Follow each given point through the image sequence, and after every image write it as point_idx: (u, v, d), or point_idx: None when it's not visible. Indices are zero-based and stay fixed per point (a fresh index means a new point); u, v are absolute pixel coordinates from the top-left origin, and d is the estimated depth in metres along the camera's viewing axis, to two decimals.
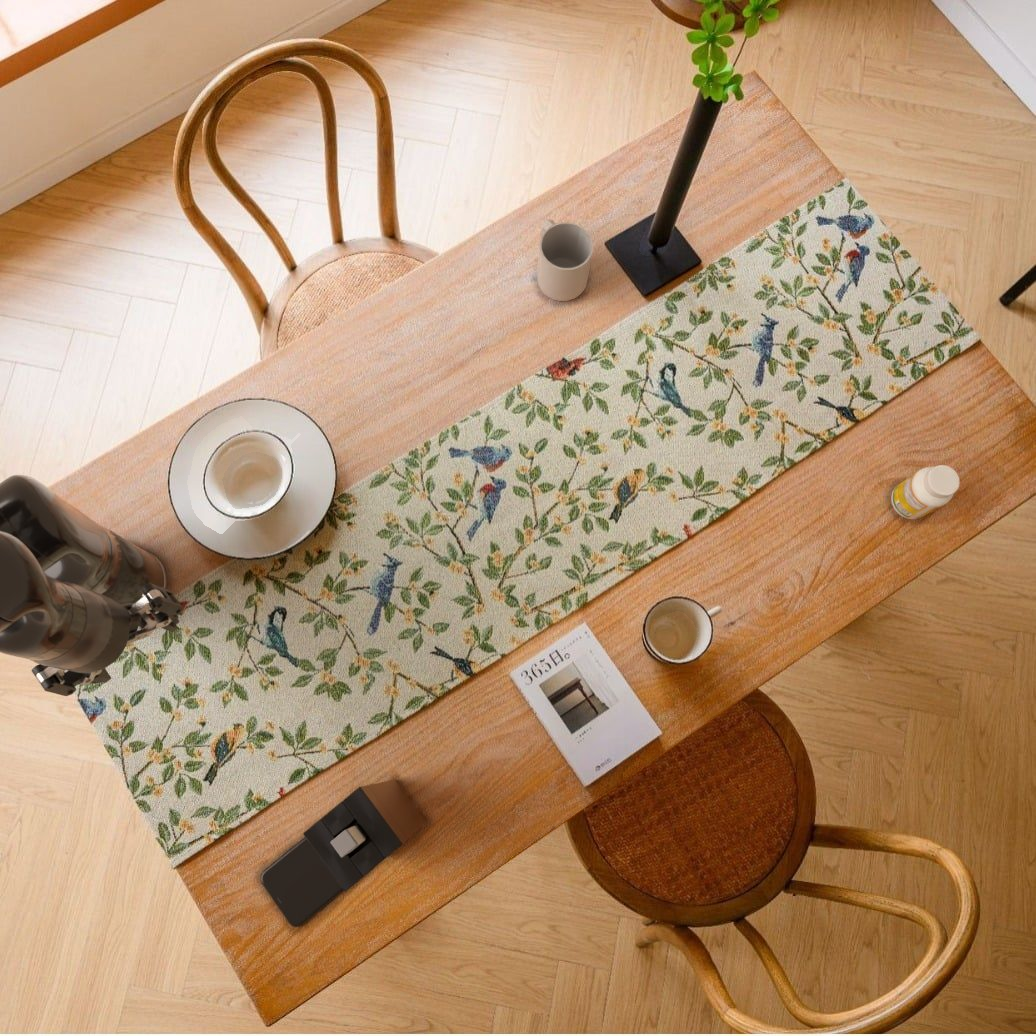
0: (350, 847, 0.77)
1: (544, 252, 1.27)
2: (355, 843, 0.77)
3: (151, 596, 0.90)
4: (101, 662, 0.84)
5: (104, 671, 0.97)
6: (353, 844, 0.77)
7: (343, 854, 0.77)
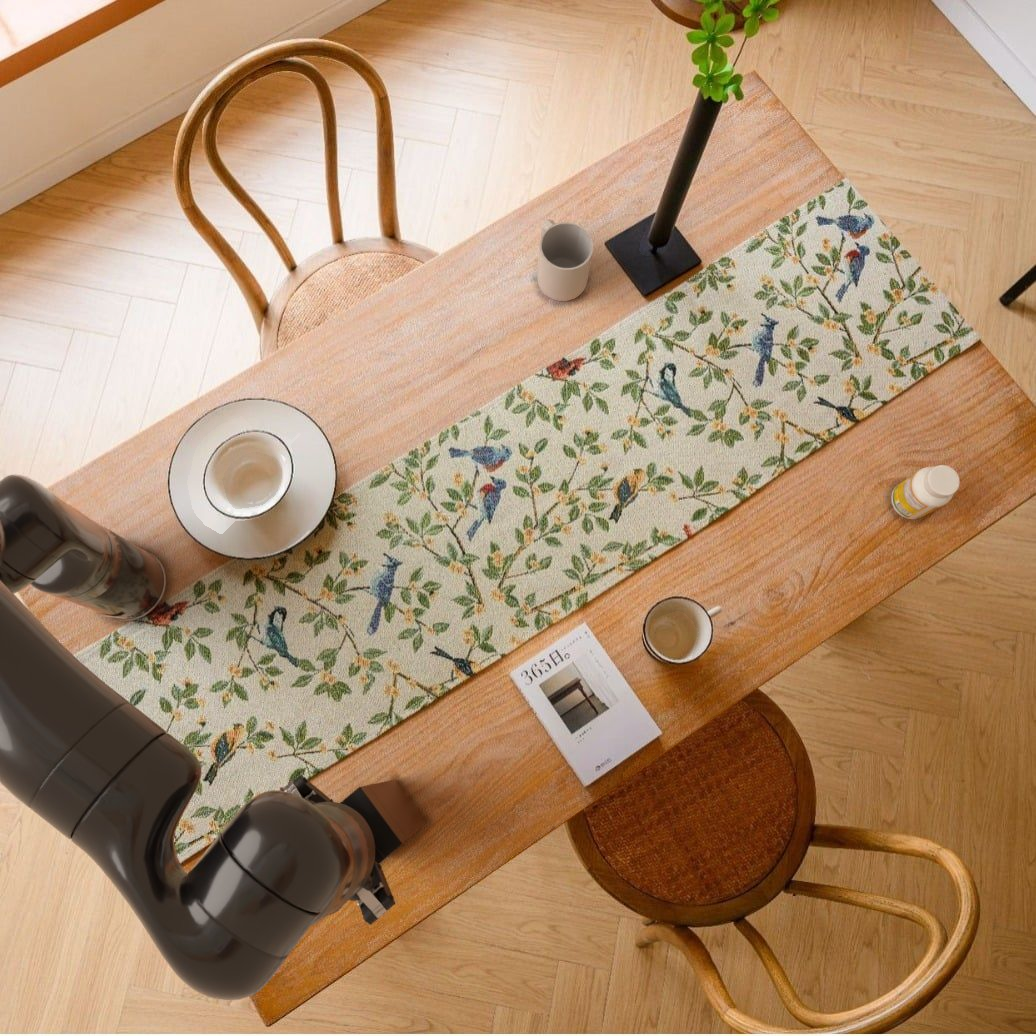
0: None
1: (544, 252, 1.27)
2: None
3: (379, 913, 0.72)
4: None
5: None
6: None
7: None
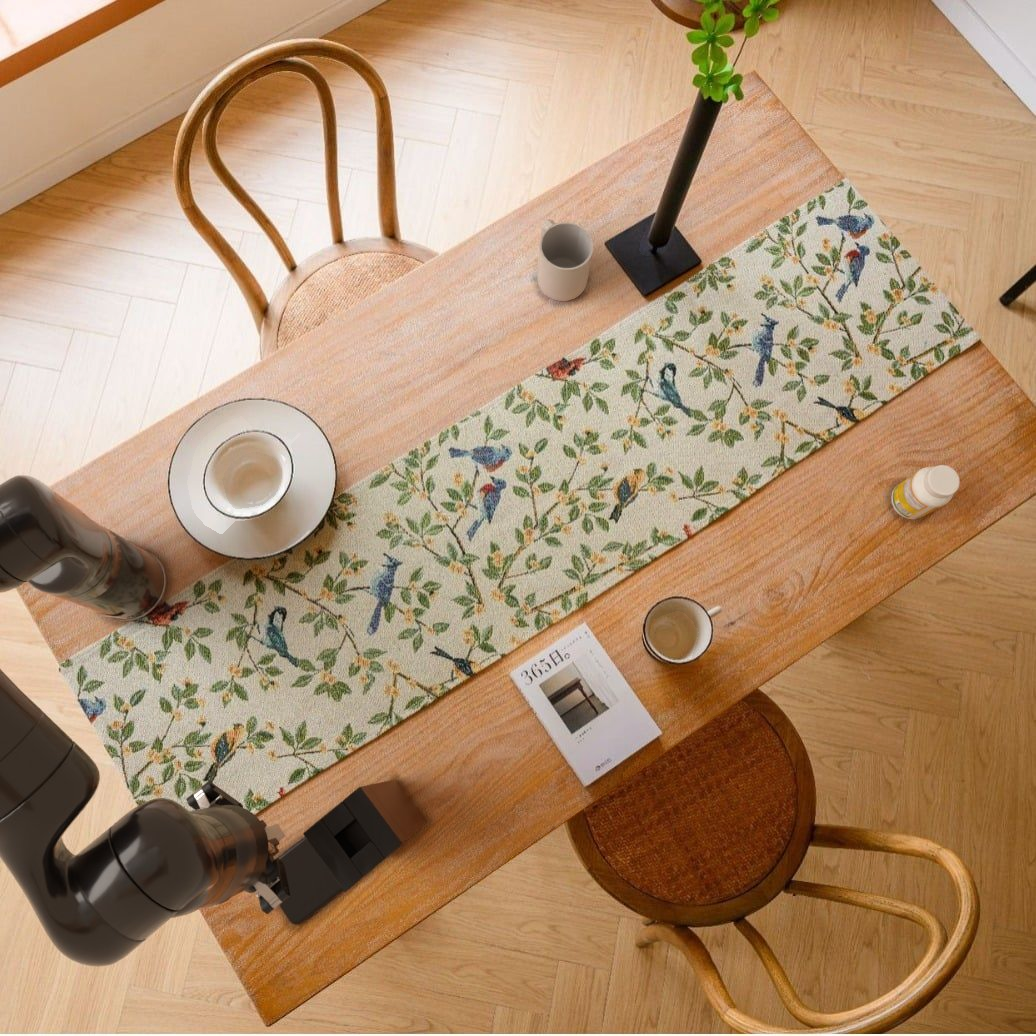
0: None
1: (544, 252, 1.27)
2: None
3: (275, 903, 0.81)
4: None
5: None
6: None
7: None
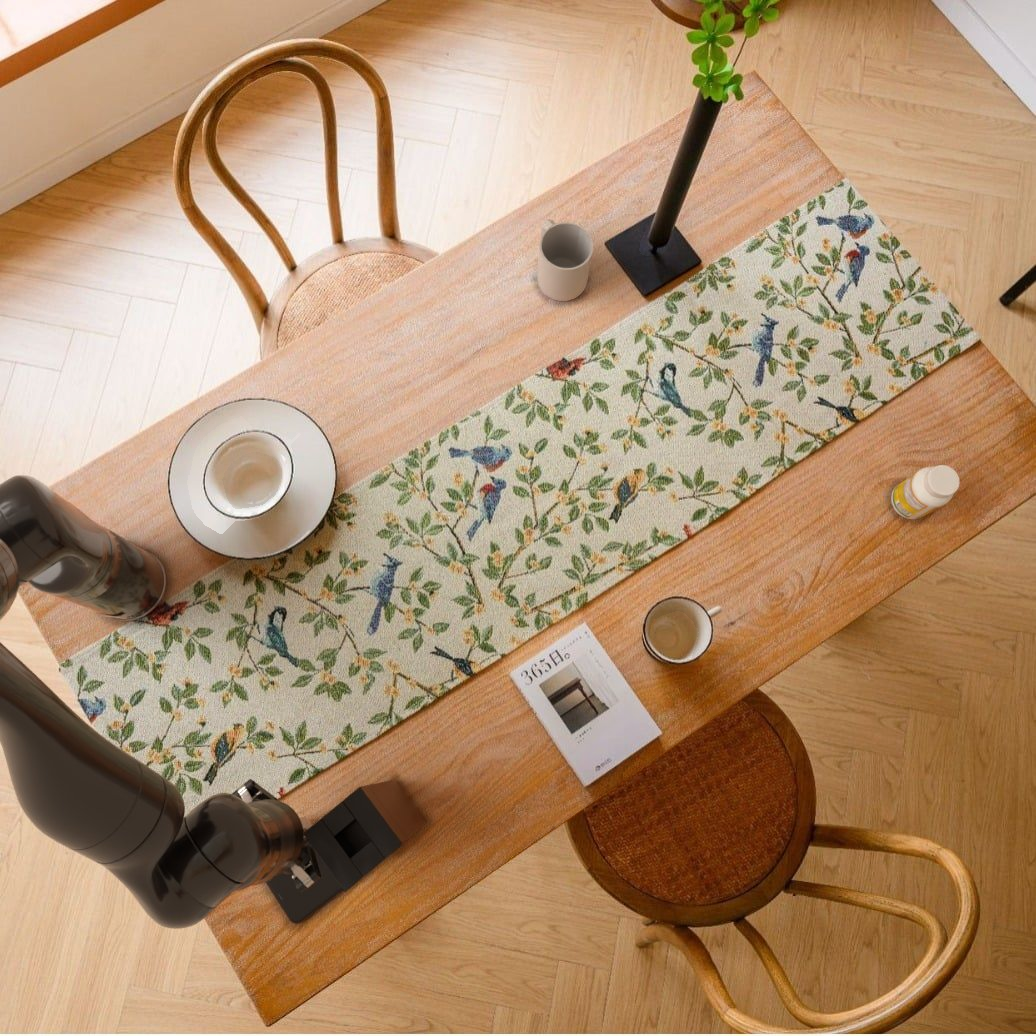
0: None
1: (544, 252, 1.27)
2: None
3: (308, 883, 0.95)
4: None
5: None
6: None
7: None
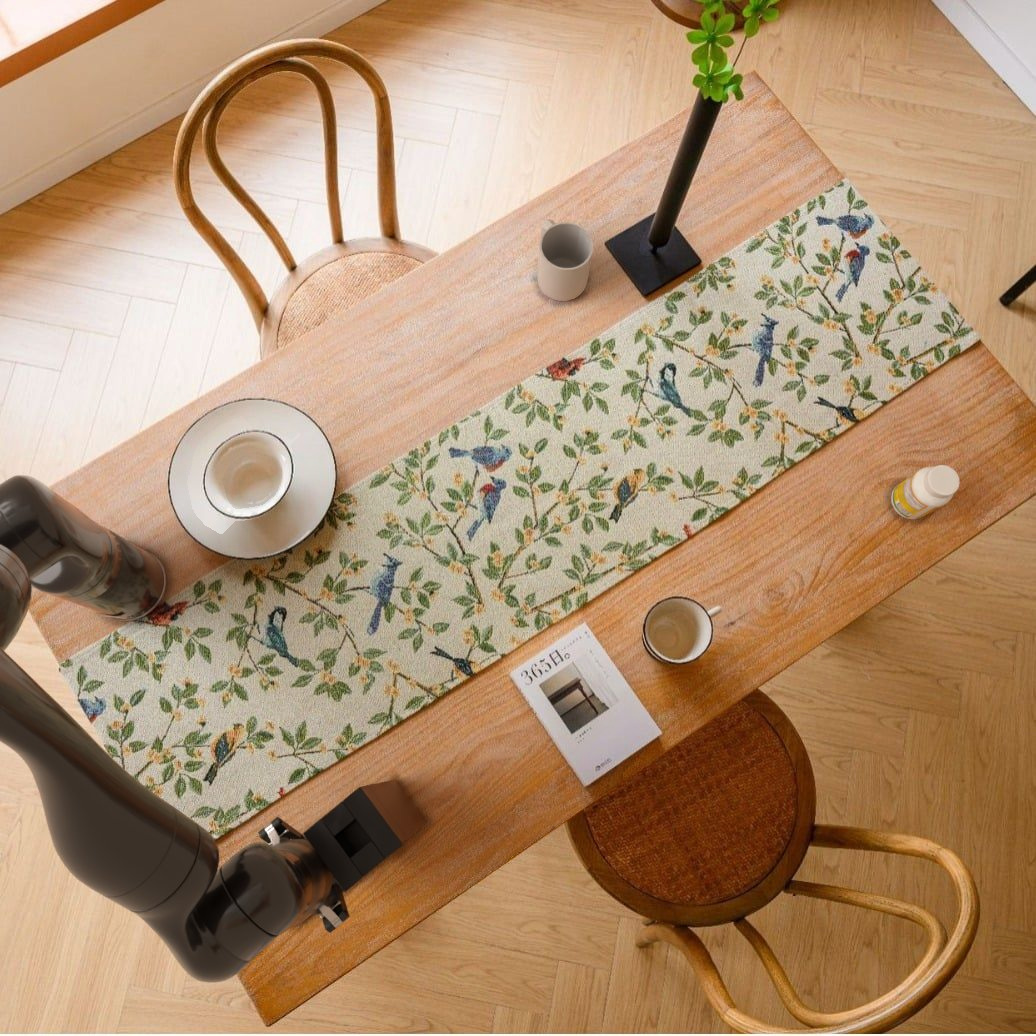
0: None
1: (544, 252, 1.27)
2: None
3: (336, 924, 0.94)
4: None
5: None
6: None
7: None
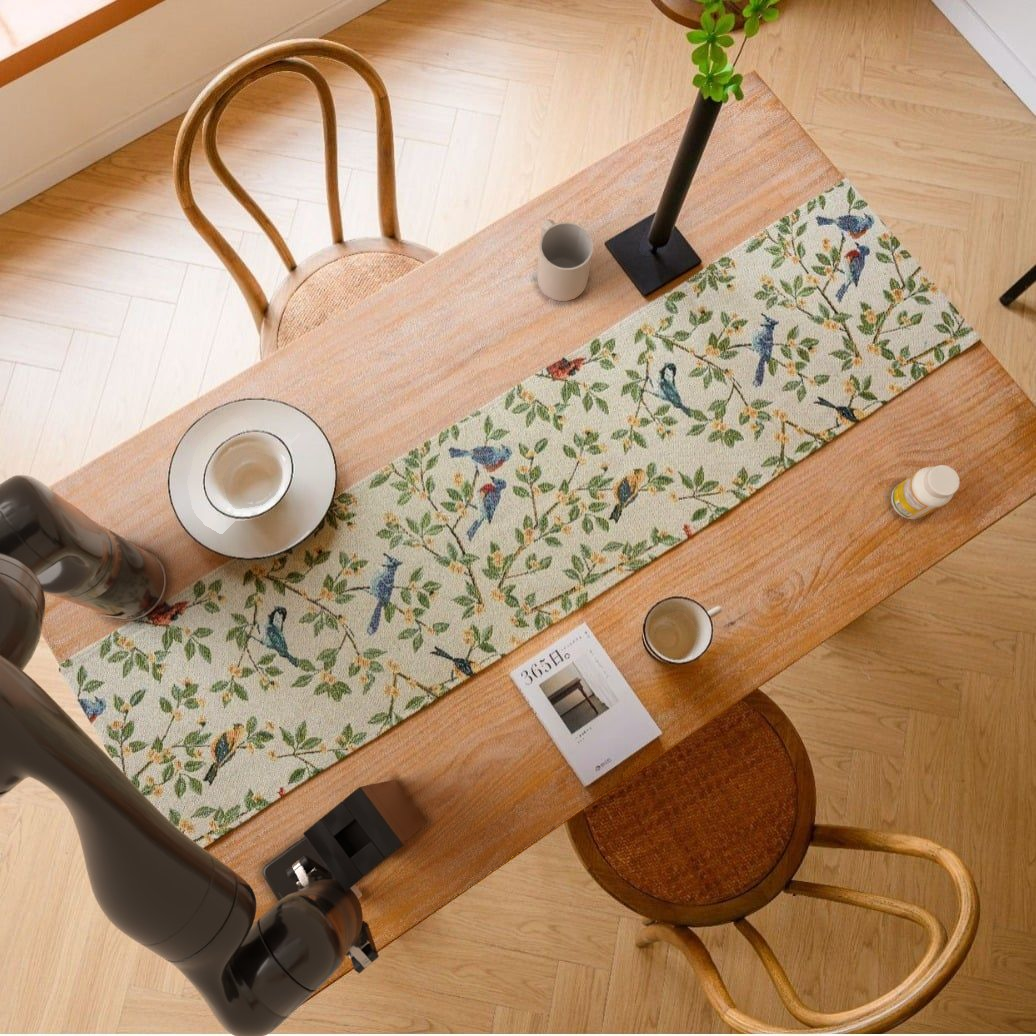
0: None
1: (544, 252, 1.27)
2: None
3: (366, 964, 0.93)
4: None
5: None
6: None
7: None
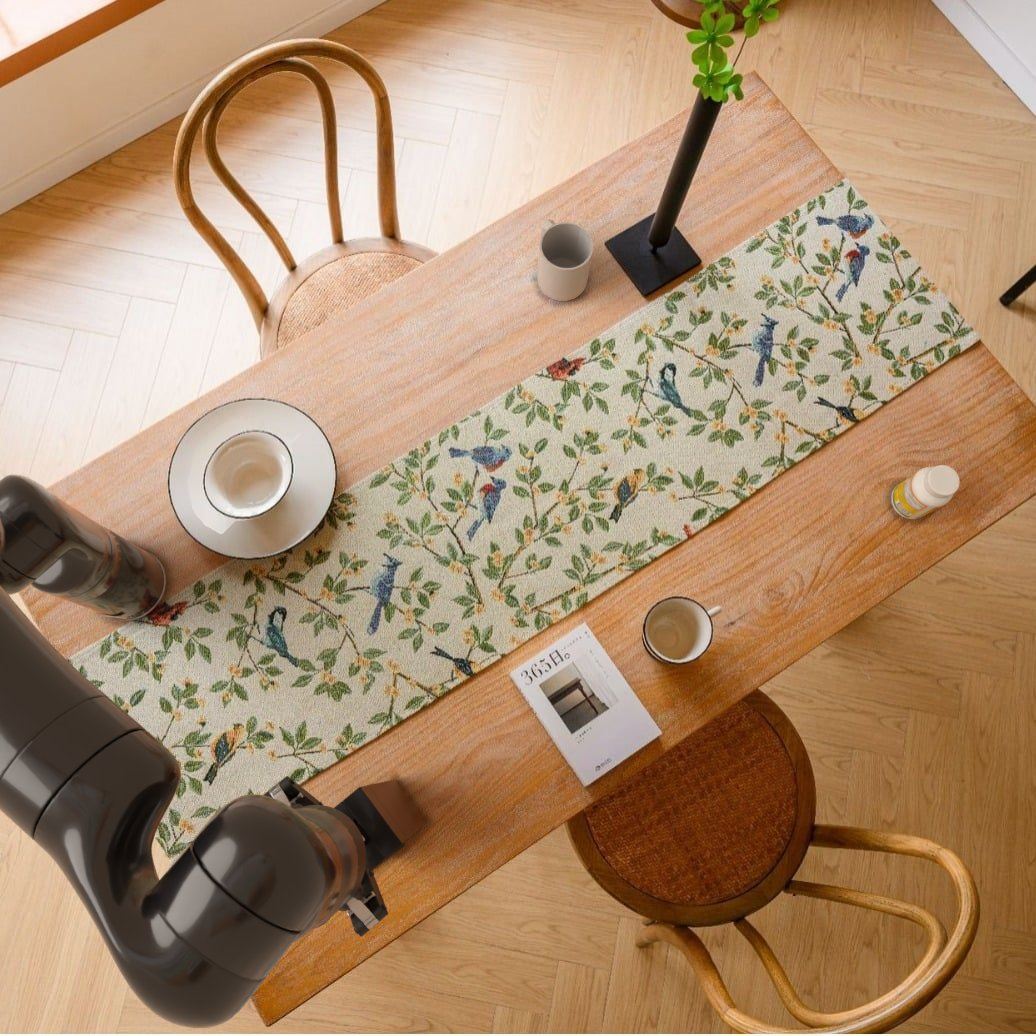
0: None
1: (544, 252, 1.27)
2: None
3: (370, 924, 0.67)
4: None
5: None
6: None
7: None
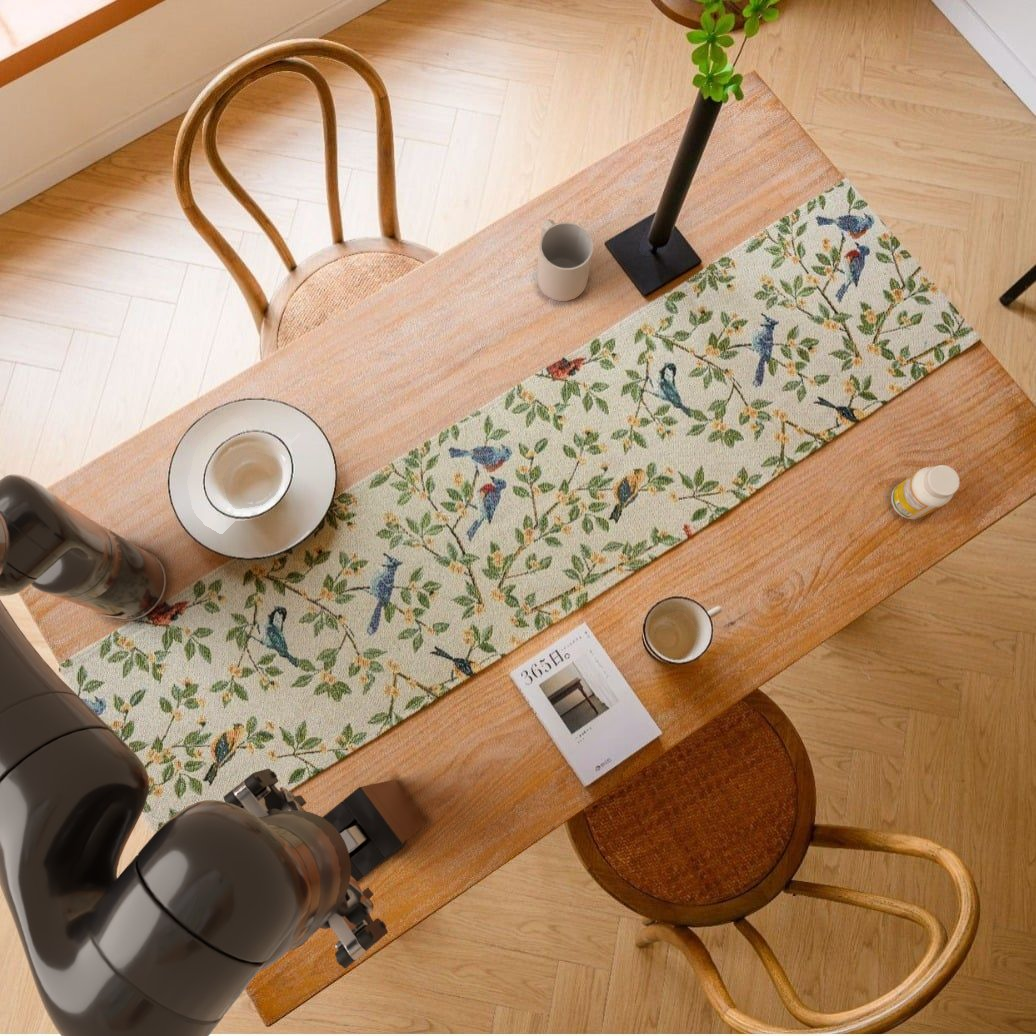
0: (350, 847, 0.77)
1: (544, 252, 1.27)
2: (355, 843, 0.77)
3: (353, 950, 0.58)
4: None
5: None
6: (353, 844, 0.77)
7: None
